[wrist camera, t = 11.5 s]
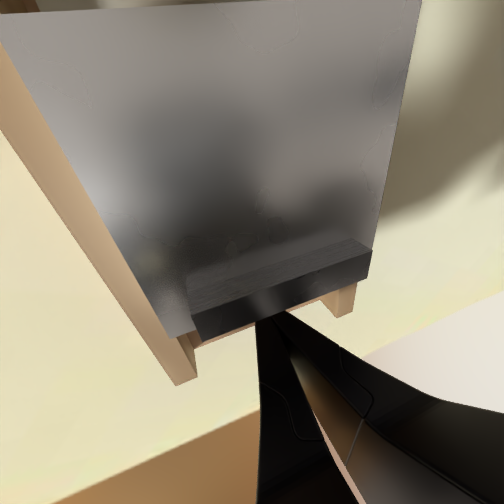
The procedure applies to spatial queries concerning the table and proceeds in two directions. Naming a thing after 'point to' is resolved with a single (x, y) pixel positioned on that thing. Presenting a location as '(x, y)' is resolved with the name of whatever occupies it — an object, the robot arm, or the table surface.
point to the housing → (82, 209)
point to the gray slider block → (226, 141)
